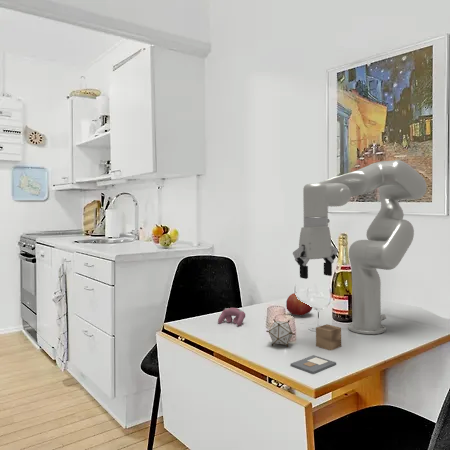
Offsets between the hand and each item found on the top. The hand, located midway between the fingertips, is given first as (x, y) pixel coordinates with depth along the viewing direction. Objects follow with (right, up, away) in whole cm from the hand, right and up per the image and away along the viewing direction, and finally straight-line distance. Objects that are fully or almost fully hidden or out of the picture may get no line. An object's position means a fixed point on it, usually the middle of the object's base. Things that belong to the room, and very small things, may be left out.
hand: (316, 276), depth 138 cm
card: (-4, -23, -17) cm, 29 cm away
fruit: (+1, -20, +37) cm, 42 cm away
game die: (-11, -22, +1) cm, 25 cm away
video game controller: (-26, -21, +27) cm, 43 cm away
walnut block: (+4, -22, -1) cm, 22 cm away
